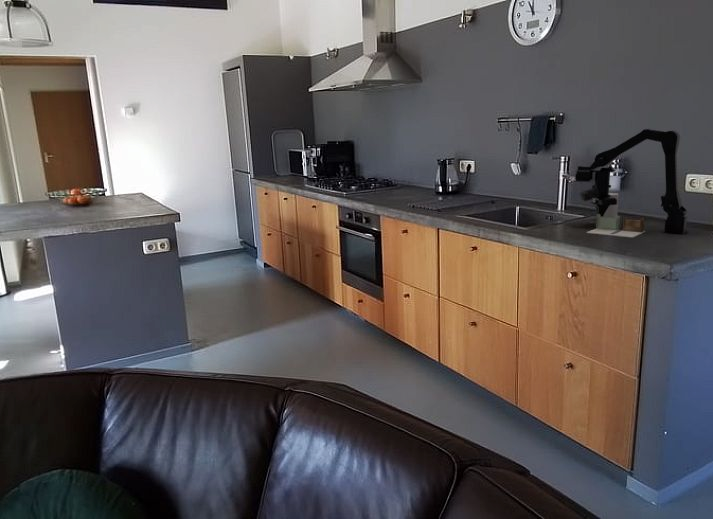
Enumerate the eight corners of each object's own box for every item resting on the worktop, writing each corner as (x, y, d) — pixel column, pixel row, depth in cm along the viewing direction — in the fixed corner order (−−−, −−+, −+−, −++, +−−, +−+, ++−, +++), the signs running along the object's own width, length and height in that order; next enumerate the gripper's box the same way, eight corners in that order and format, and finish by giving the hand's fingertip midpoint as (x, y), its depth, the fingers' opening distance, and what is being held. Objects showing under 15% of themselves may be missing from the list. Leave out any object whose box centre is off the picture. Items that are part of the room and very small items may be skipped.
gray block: (600, 218, 255) (602, 192, 252) (619, 219, 250) (620, 193, 247) (595, 220, 249) (596, 194, 246) (614, 222, 244) (615, 195, 241)
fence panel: (619, 229, 225) (620, 215, 224) (618, 229, 225) (619, 216, 223) (597, 227, 232) (598, 214, 230) (596, 227, 231) (596, 214, 230)
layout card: (645, 231, 220) (645, 231, 220) (632, 237, 211) (632, 237, 211) (599, 227, 233) (599, 226, 233) (586, 233, 223) (586, 232, 223)
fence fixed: (643, 232, 219) (644, 218, 218) (642, 233, 218) (643, 218, 217) (619, 230, 225) (620, 216, 224) (618, 230, 225) (619, 216, 223)
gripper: (574, 181, 240) (573, 216, 243) (591, 185, 221) (588, 223, 225) (600, 180, 239) (598, 215, 243) (619, 184, 221) (616, 222, 225)
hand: (599, 219), depth 234 cm, fingers closed
